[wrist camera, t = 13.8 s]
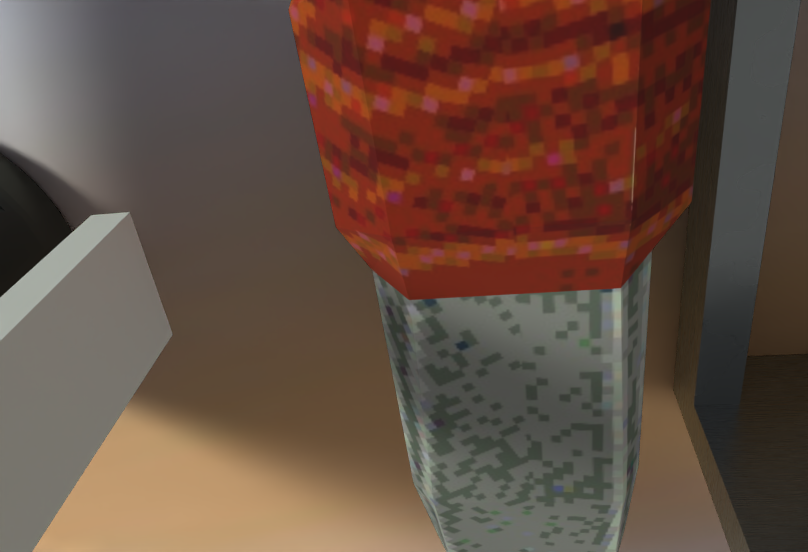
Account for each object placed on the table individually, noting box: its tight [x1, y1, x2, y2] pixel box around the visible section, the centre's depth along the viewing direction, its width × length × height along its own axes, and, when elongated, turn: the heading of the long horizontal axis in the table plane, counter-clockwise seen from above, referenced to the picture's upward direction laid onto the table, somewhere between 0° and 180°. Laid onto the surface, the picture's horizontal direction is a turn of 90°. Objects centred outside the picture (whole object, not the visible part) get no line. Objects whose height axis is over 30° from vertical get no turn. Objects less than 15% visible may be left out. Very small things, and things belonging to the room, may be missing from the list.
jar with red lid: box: [288, 0, 711, 552], centre depth 20 cm, size 19×6×30 cm
